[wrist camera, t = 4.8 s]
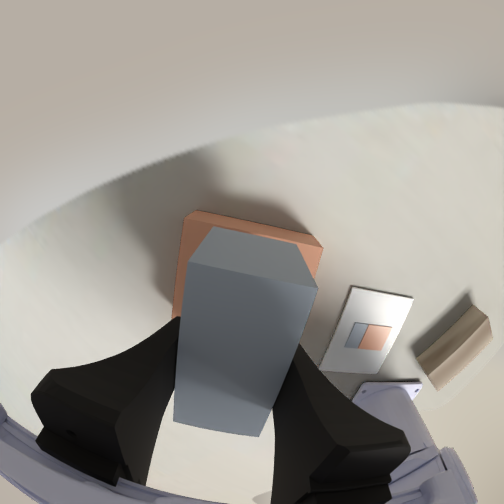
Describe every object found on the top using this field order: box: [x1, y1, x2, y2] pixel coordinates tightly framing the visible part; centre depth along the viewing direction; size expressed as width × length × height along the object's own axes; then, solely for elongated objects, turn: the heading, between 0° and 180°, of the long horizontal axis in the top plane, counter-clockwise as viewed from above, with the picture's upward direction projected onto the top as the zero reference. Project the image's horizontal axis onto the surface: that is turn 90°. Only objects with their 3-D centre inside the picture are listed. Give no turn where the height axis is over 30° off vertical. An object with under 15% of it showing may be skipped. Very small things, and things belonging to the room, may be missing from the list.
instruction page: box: [318, 287, 414, 374], centre depth 20 cm, size 8×6×1 cm
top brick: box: [173, 226, 318, 437], centre depth 12 cm, size 8×4×5 cm, turn 168°
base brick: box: [172, 210, 323, 319], centre depth 18 cm, size 8×8×3 cm
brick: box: [416, 305, 493, 392], centre depth 20 cm, size 4×8×3 cm, turn 133°
